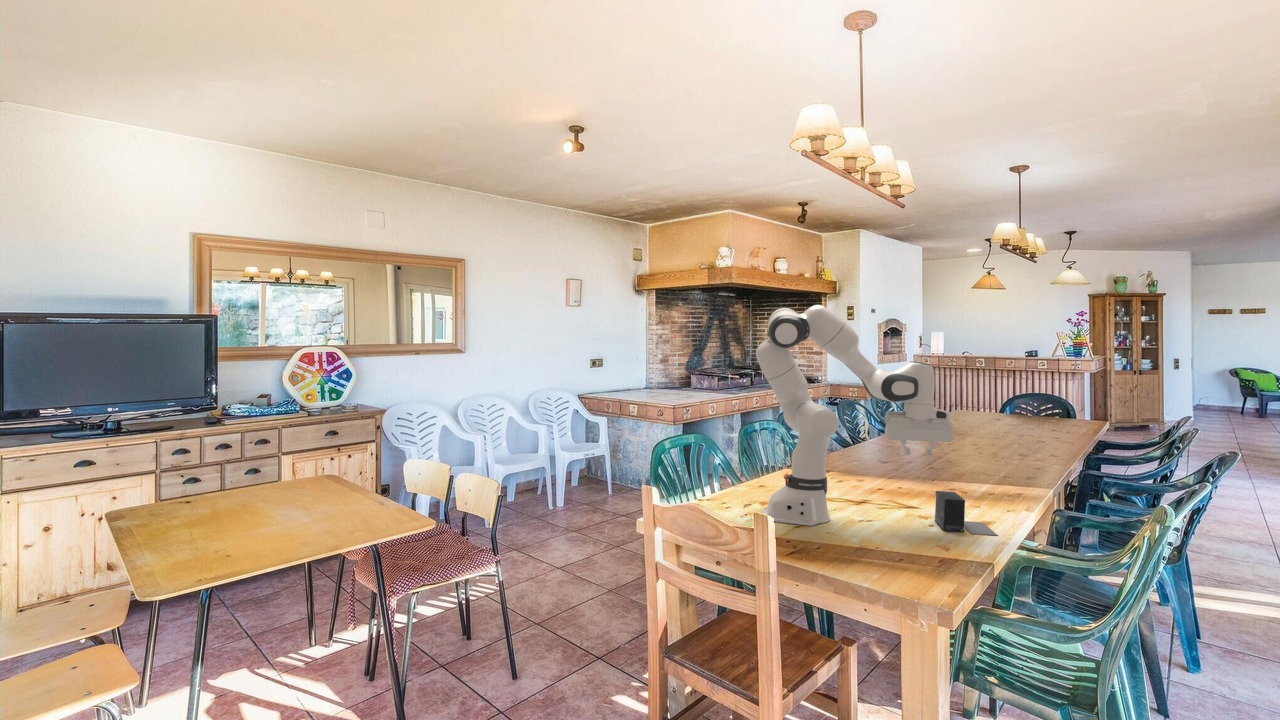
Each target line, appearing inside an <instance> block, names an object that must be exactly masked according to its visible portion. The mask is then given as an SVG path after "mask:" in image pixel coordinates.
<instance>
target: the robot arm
mask: <svg viewBox="0 0 1280 720" xmlns="http://www.w3.org/2000/svg"><path fill="white" fill-rule="evenodd" d="M766 327H767V339H766V340H764V341H763V342H761V343H760V344H759V345H758V346H757V348H756V349H755V356H756V360H757V362H758V363H757V364H758V365H759V367H760V370H761V372H762V374H763V375H764V377H765V379H766V381H767V383H768V384H769V387H770V388H771V389H772V391H773V393H774V395H775V396H776V398H777V400H778V402H779V405H780V408H781V411H782V413H783V419H784V422H785V424H787V426H788V427H789V428H790V429H791V430H793V431H795V432H797V433H798V439H797V441H796V446H795V447H794V449H793V450H792V453H791V474H789V473H784V474H783V479H784V480H785V485H784V486H783V487H780V489H778V490H777V491H775V492H773V494H771V495H770V497H769V500H768V503H767V506H766V507H764V508H762V509H761V514H762V513H765V514H767V515H769V516H771V517H772V518H774V520H775V522H774V523H776V522H777V523H785V524H792V525H801V526H809V527H810V526H811V527H813V526H816V525H819V524H824V523H827V522H829V521H831V517H830V513H829V509H828V503H827V494H828V493H827V492H828V477H827V474H826V473H827V471H826V470H827V456H828V455H827V453H828V448H829V445H830V442H831V439H832V436H833V435H834V434H835V433H836V432H837V431H838V426H839V420H838V417H837V415H836V413H835V412H834V411H832V409H830V408H829V407H828V406H826V405H823V404H818V403H816V402H815V401H813V399H812V398H811V396H810V393H809V390H808V380H807V379H806V377H805V375H804V374H803V372H802V371H801V369H800V367H799V365H798V363H797V361H796V360H795V358H794V356H793V355H792V353H791V350H790V348H792V347H795V346H796V345H799V344H800V343H801V342H803V341H805V340H807V339H808V338H809V339H811V341H813V342H814V343H816V344H817V345H818V346H819V347H820V348H821V349H822V350H824V351H825V352H826V353H827V354H829V355H830V356H832V357H834V358H835V359H836V360H838V361H840V362H841V363H843V365H845V366H846V367H847V368H848V369H849V370H850V371H851V372H852V373H853V374H854V375H856V377H858V378H859V380H860V381H861V383H862V385H863V387H864V390H865V391H866V393H867V394H868V395H869V396H870V397H871V398H873V399H876V400H883V401H886V402H892V403H899V402H903V401H904V403H903V405H904V406H903V411H901V410H900V411H899V410H898V411H897V410H896V411H895V410H891V411H889V412H886V413H885V414H884V424H885V427H884V437H885V438H886V439H887V440H889V441H900V445H901V446H902V447H903V454H904V455H910V454H911V452H910V451H911V449H910V448H909V447H907V445H906V444H907V441H912V442H913V441H914V442H915V441H916V442H917V441H918V442H929V444H930V446H929V447H928V448H925V454H926V455H927V456H932V455H933V450H934V448H936V446H937V442H942V443H943V442H944V443H945V442H946V443H948V442H949V443H951V442H952V441H953V440H954V427H953V423H952V421H951V420H950V418H951V413H950V412H948V411H947V410H942V409H941V408H939V407H935V400H934V393H935V389H936V387H935V386H936V385H935V383H936V382H935V380H936V379H935V371H934V368H933V366H932V365H931V364H929V363H925V362H919V361H912V360H911V361H908V362H907V363H906V364H904V365H903V366H901V367H898V368H896V369H894V370H892V371H890V370H889V371H888V370H885V369H883V368H879V367H877V366H875V365H874V364H873V363H872V362H871V361H870V360H869V359H868V358H867V357H866V356H864V354H862V353H861V351H860V350H859V347H858V346H859V335H858V334H857V333H856V331H855V330H854V328H852V327H851V326H850V325H849V323H847V322H846V321H845V320H844V319H843V318H841V316H839V315H838V314H837V313H835V312H834V311H832V310H831V309H829V308H827V307H826V306H824V305H822V304H814V305H812V306H810V307H808V308H807V309H806V310H805V311H804V312H802V313H798V312H797V311H796V310H795V309H794V308H792V307H789V306H780V307H777V308H776V309H774V310H772V312H771V313H770V315H769V316H768V319H767V326H766Z"/></svg>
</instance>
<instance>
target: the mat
mask: <svg viewBox="0 0 1280 720" xmlns="http://www.w3.org/2000/svg"><path fill="white" fill-rule="evenodd" d="M964 530H966V531H967V532H968V533H970V535H976V536H994V537H998V536H999V534H997V533H996V532H995V531H994V530H993V529H991V528H990V527H989V526H988V525H986V524H985V523H984V522H983V521H968V520H967V521H966V520H964Z"/></svg>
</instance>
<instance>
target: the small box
mask: <svg viewBox="0 0 1280 720" xmlns="http://www.w3.org/2000/svg"><path fill="white" fill-rule="evenodd" d="M934 507H935V509H934V510H935V511H934V512H935V513H934V523H935V524H936V525H937V526H938V527H939V528H940V529H941V530H942V531H943V532H954V533H965V528H964V521H965V513H966V512H965V509H966V500H965V498H963V497H962V496H960V495H959V494H958V493H957V492H955V491H954V492H953V491H945V490H944V491H943V490H935V506H934Z"/></svg>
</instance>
